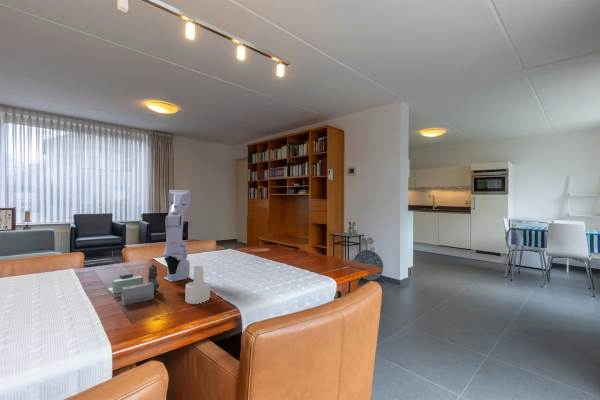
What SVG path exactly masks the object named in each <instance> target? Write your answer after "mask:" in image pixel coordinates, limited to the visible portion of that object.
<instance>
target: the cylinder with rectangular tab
mask: <svg viewBox="0 0 600 400" xmlns="http://www.w3.org/2000/svg"><path fill="white" fill-rule="evenodd" d="M184 292H185V293H184V294H185V295H184V299H185V300H184V301H185V302H186V304H190V305H191V304H192V305H198V304H199V303H200V304H203V303H202V302H204V303H206V302H205V301H207V300H209V298H210V299H211V282H210V281H208V280H204V268H203V265H194V266H193V281H191V282H190V281H189V282H187V283H185V291H184ZM209 301H210V300H209ZM207 302H208V301H207Z"/></svg>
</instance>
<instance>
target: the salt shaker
mask: <svg viewBox="0 0 600 400" xmlns="http://www.w3.org/2000/svg"><path fill="white" fill-rule="evenodd" d="M157 267H158V266H156V265H155V264H154V263H152V265H150V266H149V267H148V274H147V278H148V279H147V283H149V282H152V283H153V284H154V296H155V295H157V294H160V291H159V290H158V289H159V287H160V284H161V282H160V281H158V279H157V278H158V277H157V276H158V272H157V270H158V268H157Z"/></svg>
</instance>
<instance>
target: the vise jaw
mask: <svg viewBox="0 0 600 400" xmlns="http://www.w3.org/2000/svg"><path fill="white" fill-rule="evenodd" d="M138 284H144V277H143V276H142V275H136V276H134V274H133V273H132V272H126V273H122V274H121V273H120V274H119V279H113V280H112V288H113V291H112V292H113V293H120V292H122V287H128V286H133V285H138Z"/></svg>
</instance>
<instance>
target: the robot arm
mask: <svg viewBox="0 0 600 400" xmlns="http://www.w3.org/2000/svg"><path fill="white" fill-rule="evenodd" d="M168 203H169V204H168V205H169V210H168V214H167V215H165V222H164V224H165V233H166V235H165V236H166V237H165V238H166V239H165V240H166V241H165V248H164V250H163V253H162V256H164V258H163V259H164V261H165V263H166V265H167V273H166V274H167V276H164V277H163V279H164V280H167V281H168V282H171V283H173V282H176V281H177V282H178V281H181V280H187V278H188V279H191V276H190V274H191V273H190V270H191V264H190V260H189V259H188V249H189V248H188V243H187V241H185V240H183V230H184V214H185V211H186V209H188V208H190V203H191V191H190V190H187V189H186V190H184V189H169V191H168Z"/></svg>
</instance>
